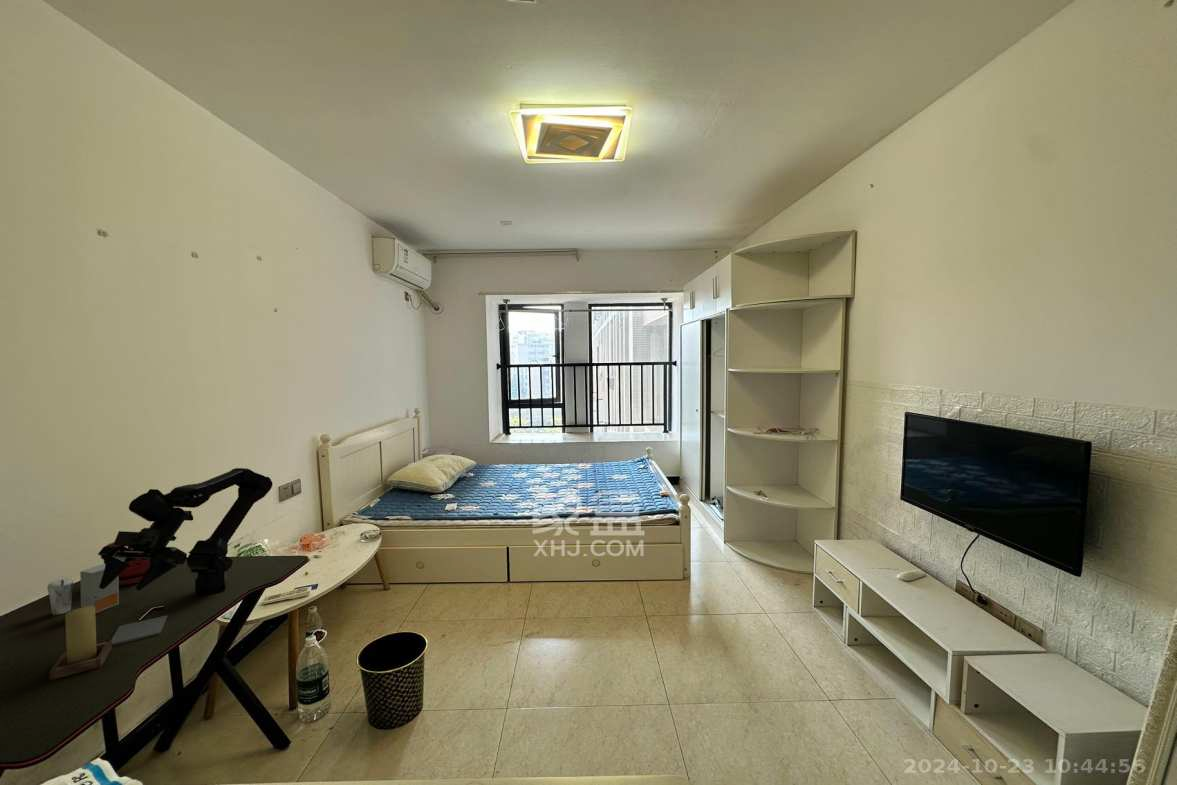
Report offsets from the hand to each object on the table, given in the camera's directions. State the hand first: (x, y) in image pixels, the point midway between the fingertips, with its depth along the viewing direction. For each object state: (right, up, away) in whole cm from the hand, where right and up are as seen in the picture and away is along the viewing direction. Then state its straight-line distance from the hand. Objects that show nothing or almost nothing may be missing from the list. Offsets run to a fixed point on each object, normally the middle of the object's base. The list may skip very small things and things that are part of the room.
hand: (119, 589), depth 106 cm
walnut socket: (-1, -14, -7) cm, 16 cm away
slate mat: (0, -13, +5) cm, 14 cm away
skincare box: (-21, -12, +14) cm, 28 cm away
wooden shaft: (-1, -14, -7) cm, 16 cm away
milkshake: (-29, -12, +12) cm, 34 cm away
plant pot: (-30, -11, +31) cm, 45 cm away
